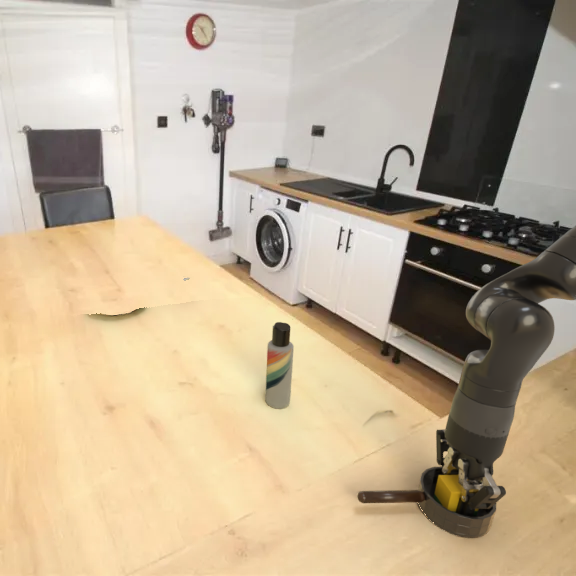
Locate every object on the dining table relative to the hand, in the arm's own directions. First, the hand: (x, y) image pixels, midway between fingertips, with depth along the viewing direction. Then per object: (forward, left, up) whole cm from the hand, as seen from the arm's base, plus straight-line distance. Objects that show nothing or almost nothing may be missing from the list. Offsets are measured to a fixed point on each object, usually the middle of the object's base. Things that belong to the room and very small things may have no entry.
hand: (454, 504), depth 67 cm
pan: (0, 0, -1) cm, 1 cm away
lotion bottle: (+23, -30, -1) cm, 38 cm away
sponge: (0, 0, 0) cm, 0 cm away
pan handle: (+11, 0, +1) cm, 11 cm away
